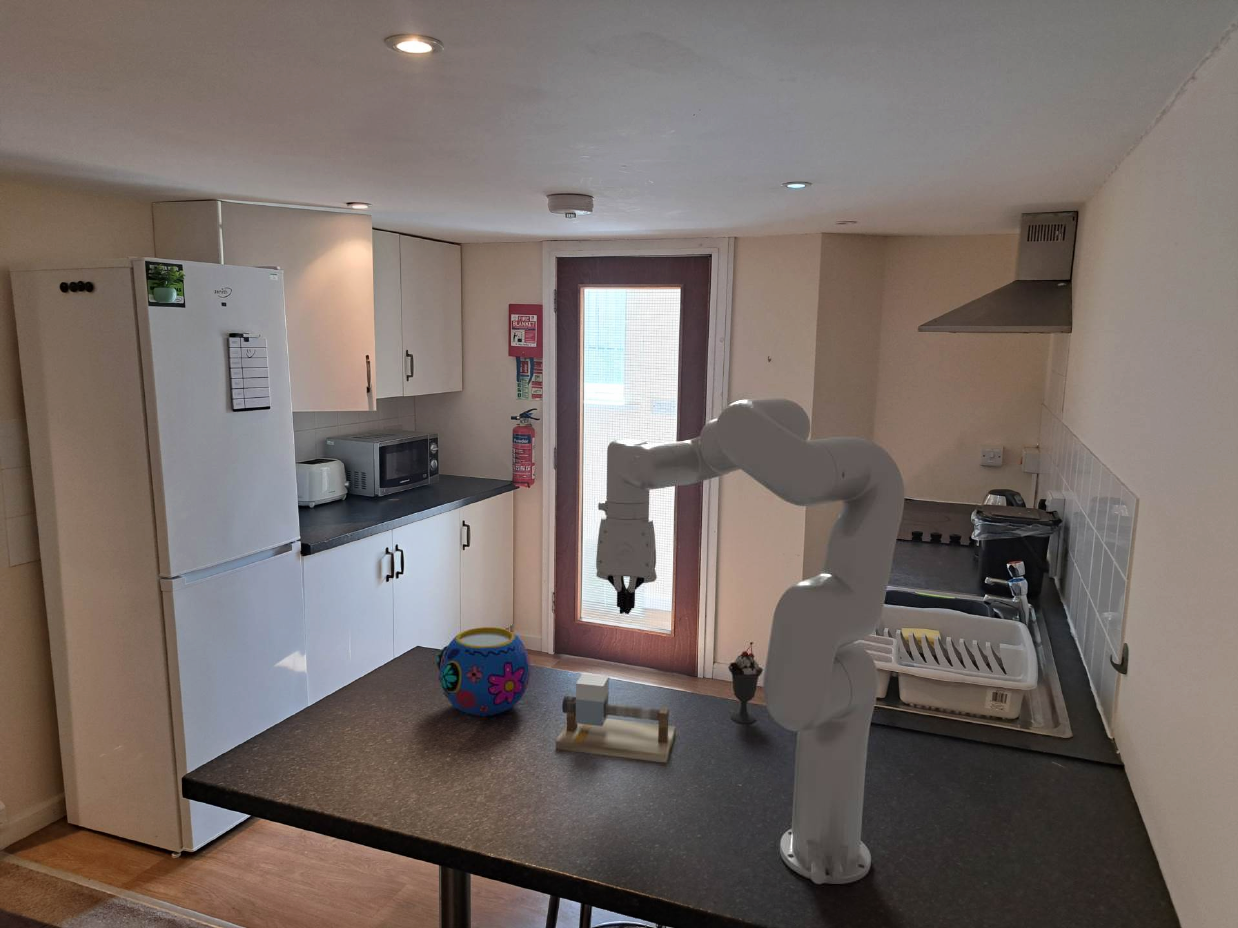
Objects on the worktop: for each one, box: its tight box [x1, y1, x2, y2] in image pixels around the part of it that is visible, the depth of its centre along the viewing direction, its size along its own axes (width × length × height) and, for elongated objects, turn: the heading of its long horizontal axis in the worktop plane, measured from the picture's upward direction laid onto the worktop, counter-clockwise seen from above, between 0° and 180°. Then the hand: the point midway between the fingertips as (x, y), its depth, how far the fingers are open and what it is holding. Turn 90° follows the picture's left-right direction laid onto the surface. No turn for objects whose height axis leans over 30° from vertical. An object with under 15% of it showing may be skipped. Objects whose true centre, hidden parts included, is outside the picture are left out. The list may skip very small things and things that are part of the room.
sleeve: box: [575, 673, 610, 726], centre depth 150 cm, size 5×5×8 cm
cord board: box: [555, 695, 676, 764], centre depth 149 cm, size 11×20×8 cm, turn 78°
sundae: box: [727, 641, 764, 725], centre depth 159 cm, size 7×7×15 cm
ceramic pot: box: [436, 626, 532, 716], centre depth 161 cm, size 18×18×15 cm
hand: (625, 611), depth 146 cm, fingers closed
